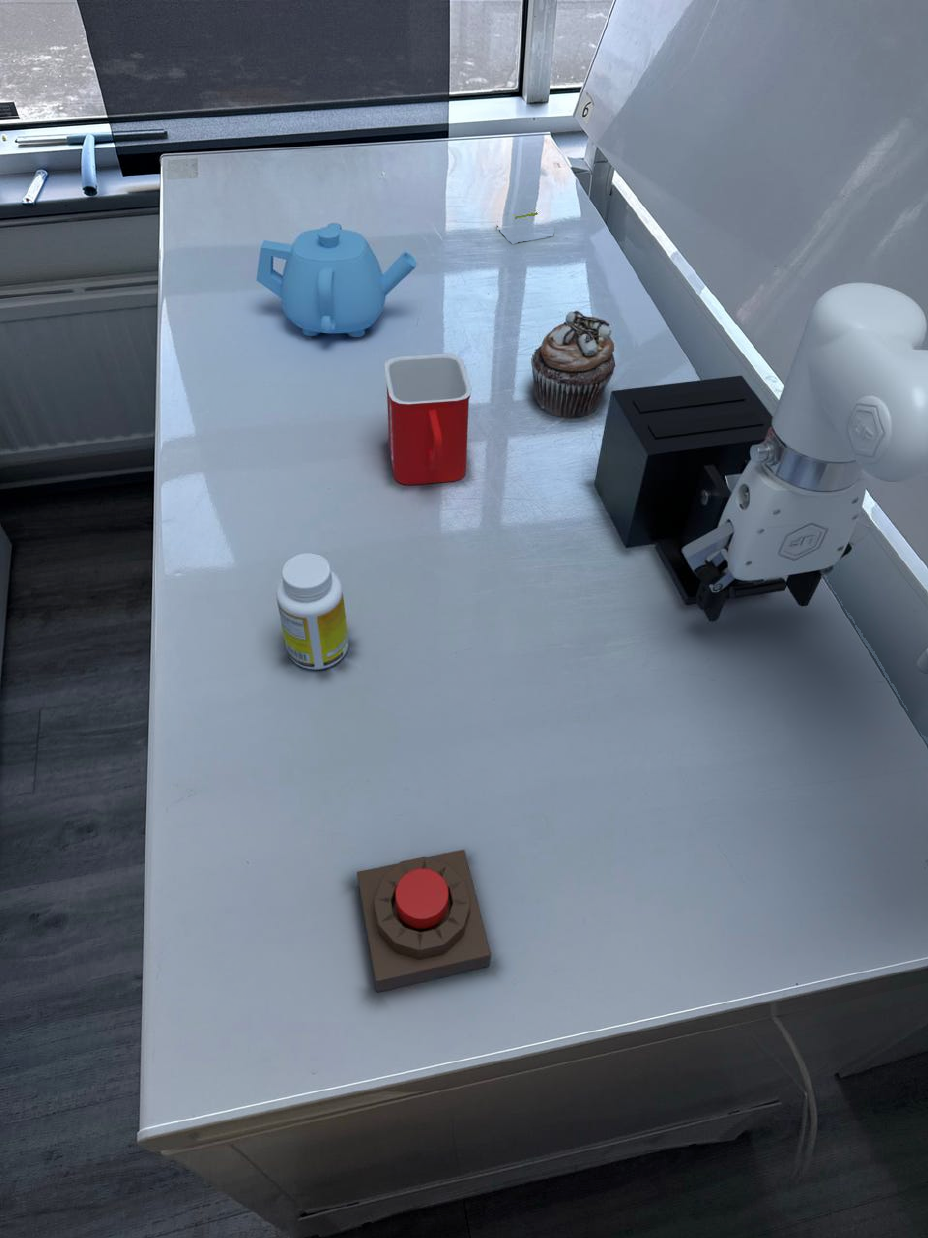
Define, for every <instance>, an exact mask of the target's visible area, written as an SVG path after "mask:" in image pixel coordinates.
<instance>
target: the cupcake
mask: <svg viewBox="0 0 928 1238" xmlns="http://www.w3.org/2000/svg"><path fill="white" fill-rule="evenodd" d="M564 319H565V321H564V322H563V323H561V324H560V323H559V324H558V325H556V326H555V327H554V328H553V329H552V330H551V331H550V332H549V333H547V334H546V336H544V338H543V340H542V343H541V345H540V346H539V347H538V348H535V349H534V352H533V354H531V357H530V364H531V372H532V380H533V381H532V382H533V392H534V394H533V395H534V400H535V403H536V405H538V407H539V408H540V409H542V410H543V411H545V412H546V413H547V414H550V415H552V416H555V417H559V418H560V417H562V418H568V419H574V418H582V417H584V416H589V415H590V414H592V413H595V411H596V410H597V407H598V406H599V405H600V402H601V400H602V397H603V395H604V393H605V391H606V388H607V386H608V384H609V382H610V380H611V379H612V376H613V375H614V371H615V368H616V360H615V356H614V351H615V343H614V342H613V340H612V338H611V334H612V329H611V328H610V323H609V322H607V321H606V320H604V319H601V318H598V317H596V316H595V317H594V316H586V315H584V314H583V313H582V312H580V311H579V310H575V311H569V312H568V313H567V314H566V315H565V318H564Z"/></svg>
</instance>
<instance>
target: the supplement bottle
mask: <svg viewBox="0 0 928 1238" xmlns="http://www.w3.org/2000/svg"><path fill="white" fill-rule="evenodd" d="M281 576H282V577H281V578H280V580H279V581H278V583H277V584H276V585H277V586H276V589H275V599H276V603H277V609H278V614H279V617H280V623H281V628H282V633H283V637H284V643H285V649H286V652H287V654H288V656H289V658H290V659H291V661H293V662H294V663H295V664H296V665H298V666H299V667H301V668H304V669H308V670H323V669H327V668H330V667H332V666H334V665H336V664H337V663H339V662H340V661H341V660H342V659H343V658H344V657H345V655H346V653H347V651H348V648H349V634H348V624H347V616H346V615H347V614H346V606H345V600H344V598H345V597H344V589H343V584H342V581H341V579H340V577H339V576H338V575H337V574H336V573H335V572H334V571H332V570H331V565H330V563H329V561H328V560H327V559H325V558H324V557H323V556H321V555H319V554H316V553H299V554H297V555H294V556H292V557H291V558H289V559H288V560H286V562H285V563H284V565H283V566H282V569H281Z"/></svg>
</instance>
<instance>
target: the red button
mask: <svg viewBox="0 0 928 1238" xmlns="http://www.w3.org/2000/svg"><path fill="white" fill-rule="evenodd" d="M448 895H449V893H448V887H447V884H446V882H445V880H444V879H443V878H442V876H441V875H439V874H438V873H437V872H435V871H433V870H430V869H424V868H420V869H415V870H412V871H410V872H408V873H406V874H405V875H404V876H403V877H402V878H401V879H400V881H399V882H398V884H397V887H396V892H395V898H396V909H397V912H398V915H399V917H400V918H401V919H402V921H403V922H405V923H406V924H407V925H409V926H411V927H414V928H419V929H425V928H429V927H432V926H434V925H436V924H438V923H439V922H440V921H441V920H442V919H443V917H444V916H445V914H446V912H447V908H448Z"/></svg>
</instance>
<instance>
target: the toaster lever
mask: <svg viewBox="0 0 928 1238" xmlns="http://www.w3.org/2000/svg"><path fill="white" fill-rule="evenodd" d="M741 475H742V474H734V475H727V476H724V477H723V478H722V479H723V480H724V482H725V483H726V485H727V487H728V488H729V490H730V491H731V493H732V492H733V490H734V488H735V486H736V484H737V482H738V480H739V478H740V477H741ZM747 582H748V583H746V584H739V585H733V586H730V588H729V595H730V597H729V598H731V600H736V599H742V598H748V597H756V596H761V595H767V594H772V593H779V592H785V591H786V589H787V586H786V580H785V578H784V577H775V578H769V579H759V580H748V581H747Z"/></svg>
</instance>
